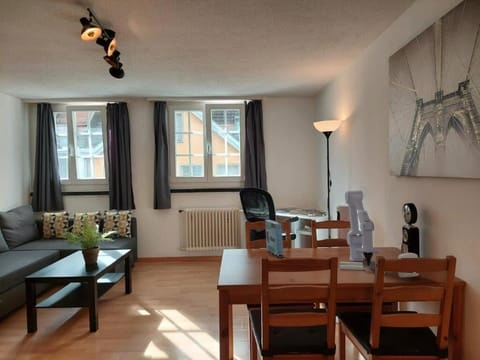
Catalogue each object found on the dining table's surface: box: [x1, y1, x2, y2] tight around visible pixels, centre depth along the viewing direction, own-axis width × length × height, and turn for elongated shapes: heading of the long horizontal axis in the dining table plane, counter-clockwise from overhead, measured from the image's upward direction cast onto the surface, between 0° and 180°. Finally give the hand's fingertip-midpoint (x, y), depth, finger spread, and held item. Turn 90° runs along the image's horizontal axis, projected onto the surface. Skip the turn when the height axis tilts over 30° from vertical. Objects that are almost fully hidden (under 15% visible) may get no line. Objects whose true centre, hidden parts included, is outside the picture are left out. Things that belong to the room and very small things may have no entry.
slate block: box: [369, 260, 377, 270], centre depth 194 cm, size 4×4×4 cm
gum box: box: [264, 219, 284, 256], centre depth 239 cm, size 20×5×23 cm, turn 17°
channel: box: [339, 261, 365, 271], centre depth 198 cm, size 8×13×2 cm, turn 73°
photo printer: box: [397, 252, 420, 278], centre depth 178 cm, size 10×4×12 cm, turn 96°
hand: (368, 265), depth 195 cm, fingers closed
